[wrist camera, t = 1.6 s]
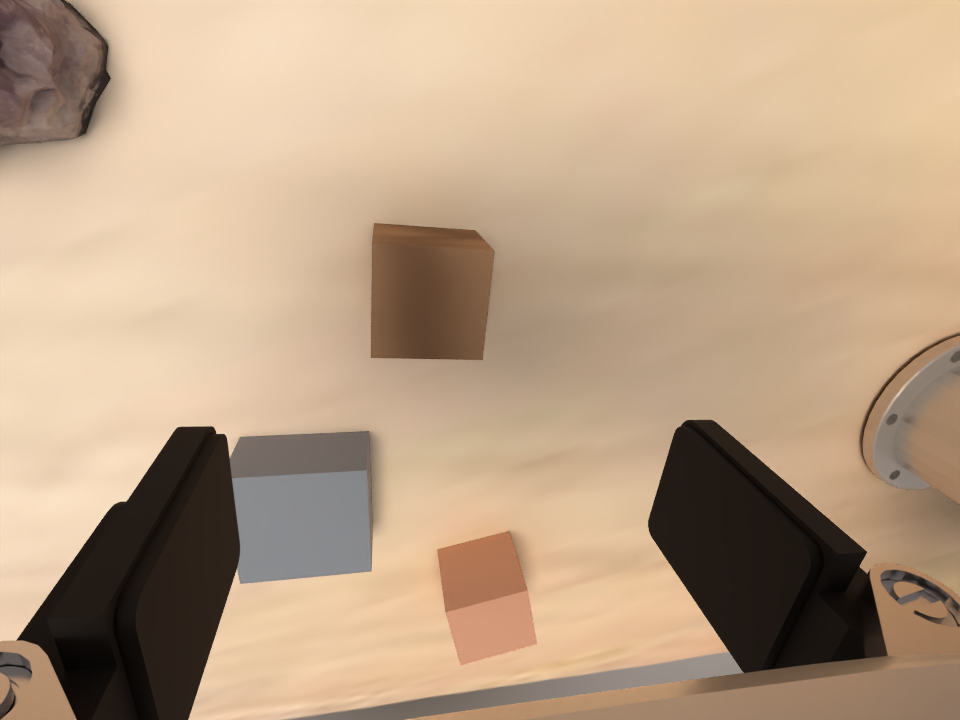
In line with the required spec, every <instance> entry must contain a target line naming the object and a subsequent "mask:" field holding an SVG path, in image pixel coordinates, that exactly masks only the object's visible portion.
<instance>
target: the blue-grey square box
mask: <svg viewBox="0 0 960 720" xmlns="http://www.w3.org/2000/svg"><path fill="white" fill-rule="evenodd" d="M230 467H231V475H232V483H233V491H234V499H235V507H236V515H237V523H238V531H239V539H240V557H239V563H238V566H237V570H238V575H239V580H240V584H244V583H254V582H265V581H275V580H286V579H297V578H307V577H318V576H328V575H339V574H350V573H360V572H371V569H372V538H373V515H372V492H371V468H370V444H369V431H363V432H342V433H320V434H298V435H276V436H254V437H240V439H239V441H238V443H237V445H236V447H235V449H234V451H233V453H232V455H231V457H230Z"/></svg>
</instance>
